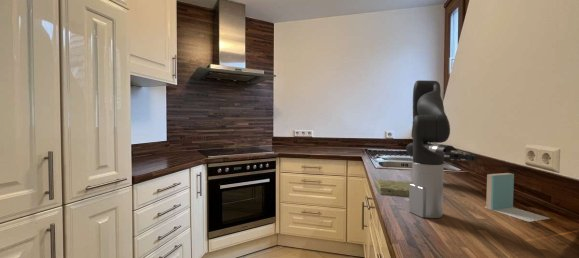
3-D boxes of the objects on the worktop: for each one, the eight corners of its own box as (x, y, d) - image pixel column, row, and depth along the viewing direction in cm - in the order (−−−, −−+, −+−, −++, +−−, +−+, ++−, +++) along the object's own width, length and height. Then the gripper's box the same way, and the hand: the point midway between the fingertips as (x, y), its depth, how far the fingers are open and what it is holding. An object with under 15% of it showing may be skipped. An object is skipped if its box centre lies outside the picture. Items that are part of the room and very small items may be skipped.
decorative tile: (374, 185, 128) (374, 178, 128) (418, 188, 124) (418, 180, 124) (379, 196, 110) (379, 188, 110) (431, 199, 106) (431, 191, 106)
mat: (528, 223, 81) (528, 221, 81) (483, 208, 94) (483, 207, 94) (550, 219, 84) (550, 218, 84) (503, 205, 97) (503, 204, 97)
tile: (492, 210, 91) (493, 175, 91) (486, 207, 94) (487, 174, 93) (512, 207, 94) (514, 174, 94) (506, 205, 96) (507, 172, 96)
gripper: (429, 144, 119) (461, 149, 102) (454, 144, 121) (489, 148, 104) (428, 161, 119) (461, 168, 102) (453, 160, 122) (489, 167, 105)
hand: (475, 158), depth 103 cm, fingers closed
